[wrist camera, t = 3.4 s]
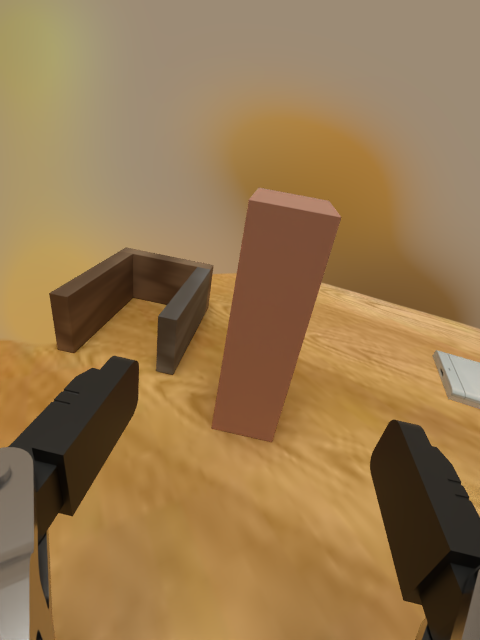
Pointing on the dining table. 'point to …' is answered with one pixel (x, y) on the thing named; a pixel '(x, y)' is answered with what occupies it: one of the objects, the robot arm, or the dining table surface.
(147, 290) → the book slot
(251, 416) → the reddish pink rectangular block
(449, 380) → the hard drive
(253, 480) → the dining table surface
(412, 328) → the dining table surface
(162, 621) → the dining table surface
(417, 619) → the dining table surface
